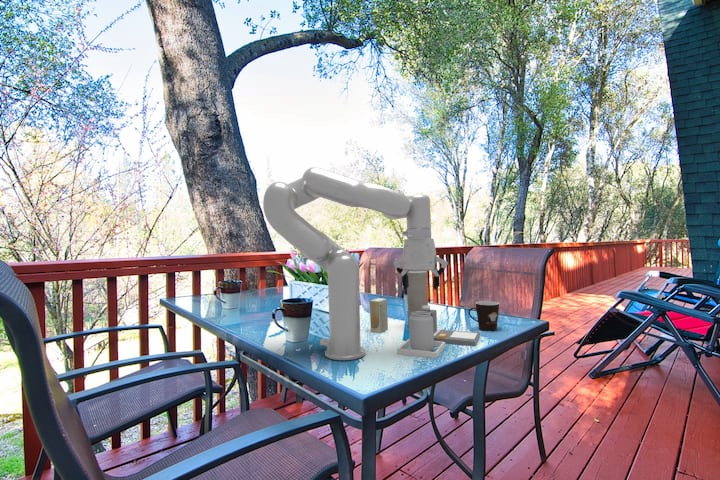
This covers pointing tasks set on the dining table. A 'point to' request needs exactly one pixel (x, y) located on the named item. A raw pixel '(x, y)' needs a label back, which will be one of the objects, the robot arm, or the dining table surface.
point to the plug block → (433, 314)
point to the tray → (421, 353)
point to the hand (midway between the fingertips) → (420, 288)
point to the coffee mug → (486, 315)
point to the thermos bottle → (417, 291)
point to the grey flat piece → (457, 337)
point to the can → (421, 331)
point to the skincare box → (378, 315)
